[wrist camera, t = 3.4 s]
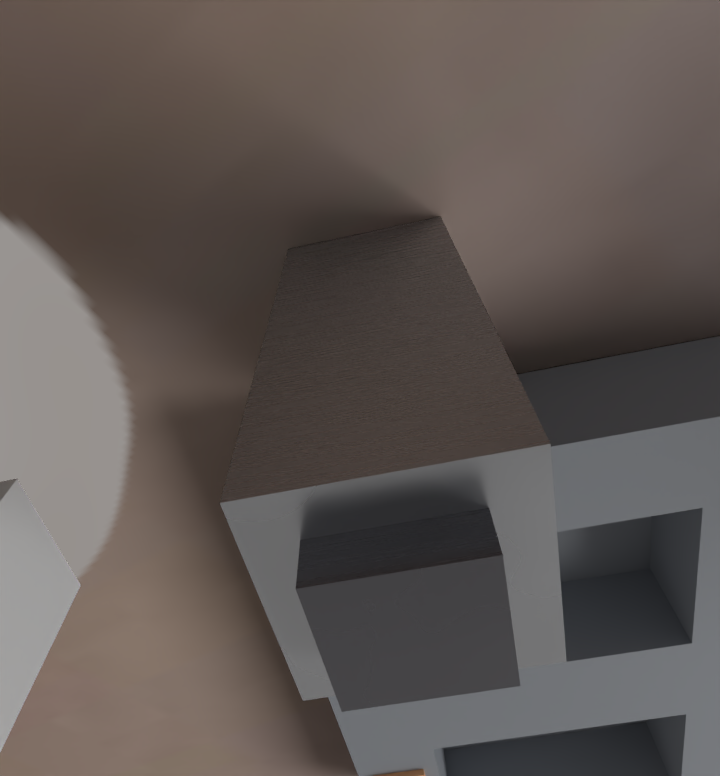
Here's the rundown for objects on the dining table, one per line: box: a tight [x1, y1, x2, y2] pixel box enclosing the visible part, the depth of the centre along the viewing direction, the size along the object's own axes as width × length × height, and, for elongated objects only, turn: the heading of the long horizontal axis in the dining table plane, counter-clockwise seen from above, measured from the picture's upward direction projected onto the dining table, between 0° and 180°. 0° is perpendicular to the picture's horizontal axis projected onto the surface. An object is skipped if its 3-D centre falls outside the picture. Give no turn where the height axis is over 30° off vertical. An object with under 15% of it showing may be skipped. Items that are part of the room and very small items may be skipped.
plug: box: [220, 217, 567, 712], centre depth 12 cm, size 4×4×11 cm
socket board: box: [328, 336, 720, 776], centre depth 22 cm, size 20×14×4 cm
